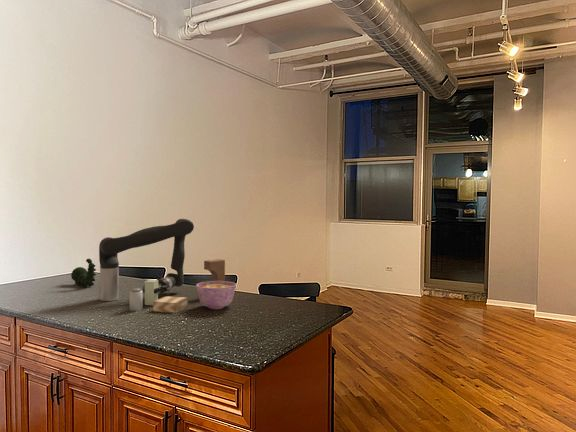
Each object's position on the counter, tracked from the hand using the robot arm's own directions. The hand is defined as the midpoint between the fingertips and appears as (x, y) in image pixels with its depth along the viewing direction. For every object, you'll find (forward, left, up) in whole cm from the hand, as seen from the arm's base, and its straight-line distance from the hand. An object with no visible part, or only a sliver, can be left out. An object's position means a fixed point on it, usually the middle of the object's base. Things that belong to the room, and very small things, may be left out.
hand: (149, 291), depth 217 cm
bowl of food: (+34, +3, -8) cm, 35 cm away
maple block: (+13, -4, -8) cm, 16 cm away
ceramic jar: (-3, -8, -7) cm, 12 cm away
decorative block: (+25, +30, -8) cm, 40 cm away
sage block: (0, +3, -7) cm, 7 cm away
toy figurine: (-63, +43, -8) cm, 76 cm away
